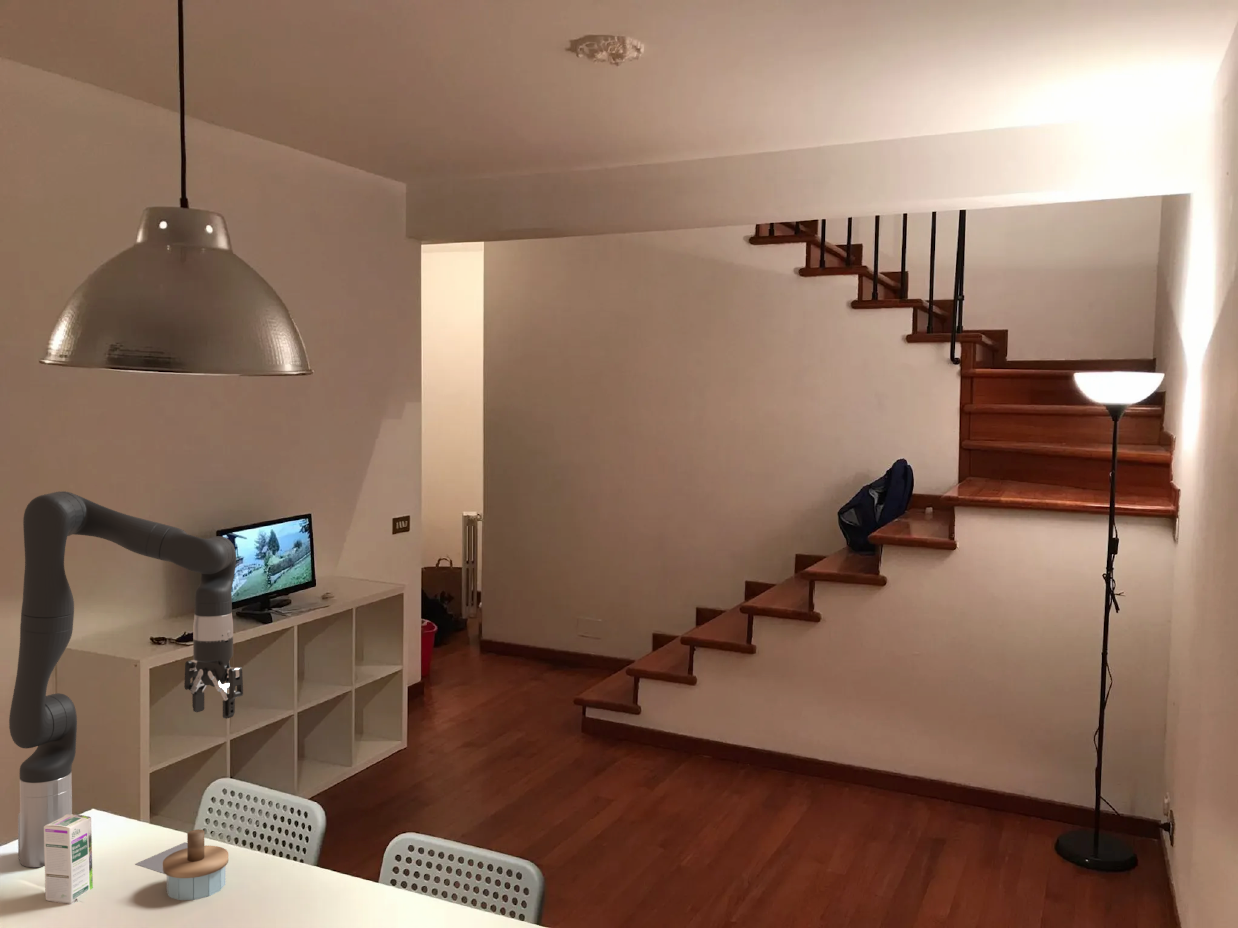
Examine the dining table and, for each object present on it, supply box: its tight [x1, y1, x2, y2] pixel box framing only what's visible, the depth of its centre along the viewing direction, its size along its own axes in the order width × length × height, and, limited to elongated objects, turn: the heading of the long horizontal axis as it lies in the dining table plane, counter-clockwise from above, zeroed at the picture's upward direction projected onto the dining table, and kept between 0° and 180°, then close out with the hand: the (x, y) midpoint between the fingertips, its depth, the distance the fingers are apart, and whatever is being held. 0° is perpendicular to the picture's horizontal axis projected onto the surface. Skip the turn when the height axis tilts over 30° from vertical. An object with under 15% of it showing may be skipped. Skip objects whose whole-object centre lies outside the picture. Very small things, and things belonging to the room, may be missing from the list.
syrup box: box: [44, 814, 94, 905], centre depth 189 cm, size 6×6×14 cm
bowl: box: [166, 866, 226, 901], centre depth 192 cm, size 10×10×5 cm
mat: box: [134, 841, 187, 875], centre depth 204 cm, size 12×12×1 cm
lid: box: [163, 828, 229, 878], centre depth 192 cm, size 12×12×7 cm
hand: (213, 714), depth 204 cm, fingers open, 8 cm apart
